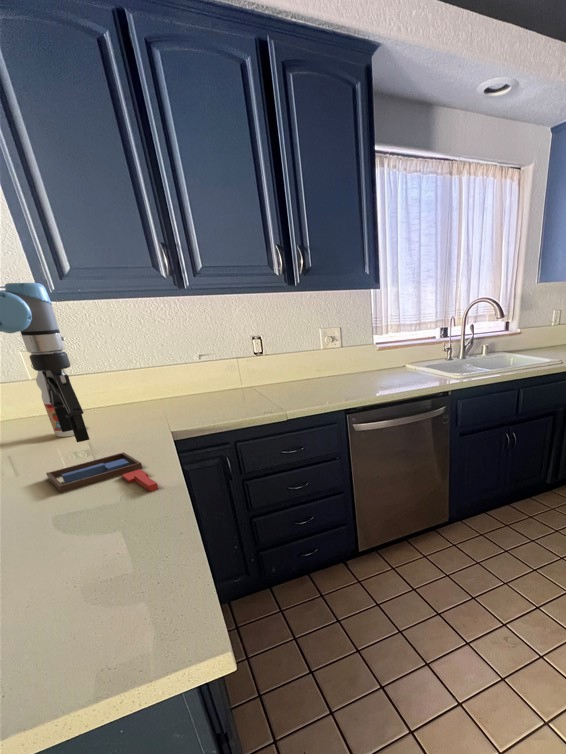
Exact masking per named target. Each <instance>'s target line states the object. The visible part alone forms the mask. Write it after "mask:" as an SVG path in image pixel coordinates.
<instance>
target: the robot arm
mask: <svg viewBox="0 0 566 754" xmlns="http://www.w3.org/2000/svg"><path fill="white" fill-rule="evenodd" d="M4 288H5V290H0V332H2V333H5V334H16V333H19V332H20V336H21V338H22V341H23V344H24V346H25V350H26V352H27V353H29V356H28V357H29V360H30V362H31V366H32V368H33V370H34V371H37V372H38V371H42V374H43V376H44V379H45V383H46V387H47V391H48V396H49V400H50V403H51V404H52V406H53V407H54V410H55V413H56V416H57V419H58V422H59V424H60V427H61V430H62V432H67V431H71V430H73V432H74V437H75V442H76V443H81V442H86V441H90V440H91V439H90V436H89V433H88V429H87V428H86V424H85V421H84V418H83V414H84V409H83V408H82V406H81V404H80V401H79V398H78V397H77V394H76V393H75V390H74V388H73V386H72V383H71V379H70V375H68V374H66V373H64V372H63V370H65V369H69V368H71V362H70V358H69V356H68V355H69V354H68V353H67V352H66V351H65V349H66V347H65V343H64V342H63V341H65V340H66V339H65V338H66V337H64V336H62V334H61V331H60V328H59V326H58V322H57V318H56V315H55V312H54V308H53V303H52V301H51V299H50V296H49V293H48V291H47V289H46V287H45V286H44V285H43V284H42V283H39V282H8V283H5V284H4ZM63 373H64V374H65V375H64V374H63ZM63 406H65V407H63ZM55 407H56V408H55Z"/></svg>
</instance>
